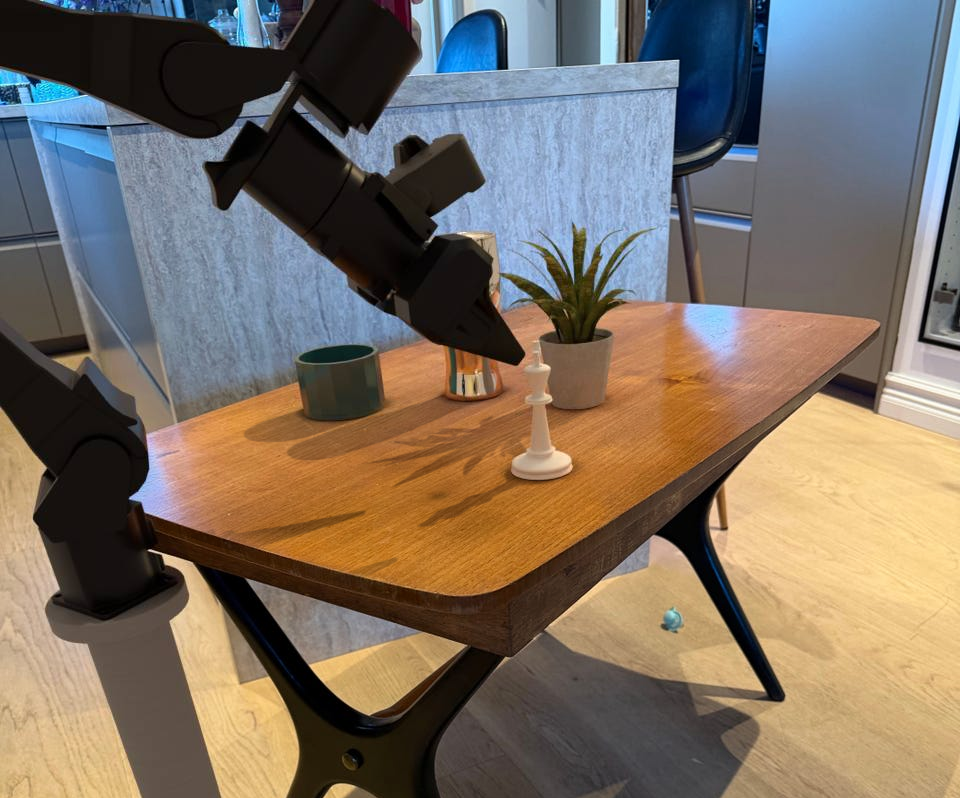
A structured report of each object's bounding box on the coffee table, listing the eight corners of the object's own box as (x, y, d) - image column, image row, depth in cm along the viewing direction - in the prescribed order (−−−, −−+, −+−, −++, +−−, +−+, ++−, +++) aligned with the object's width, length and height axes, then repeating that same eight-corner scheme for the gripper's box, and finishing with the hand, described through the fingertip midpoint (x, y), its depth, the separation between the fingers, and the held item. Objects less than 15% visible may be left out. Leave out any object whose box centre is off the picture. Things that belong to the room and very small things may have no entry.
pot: (349, 424, 86) (340, 367, 84) (287, 416, 91) (276, 361, 88) (401, 400, 92) (394, 346, 89) (341, 393, 96) (333, 341, 94)
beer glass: (433, 390, 95) (417, 236, 87) (495, 380, 96) (485, 228, 89) (451, 406, 89) (435, 243, 81) (517, 395, 90) (507, 234, 83)
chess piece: (506, 480, 70) (498, 350, 65) (515, 459, 74) (508, 335, 69) (569, 480, 69) (565, 348, 64) (575, 458, 73) (572, 332, 68)
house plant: (614, 371, 96) (614, 202, 87) (688, 400, 84) (695, 210, 76) (492, 395, 91) (479, 220, 83) (552, 429, 80) (545, 231, 72)
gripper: (444, 79, 48) (626, 269, 57) (364, 94, 64) (517, 242, 72) (326, 255, 50) (519, 413, 59) (276, 229, 66) (435, 357, 74)
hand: (497, 347), depth 66 cm, fingers open, 9 cm apart
